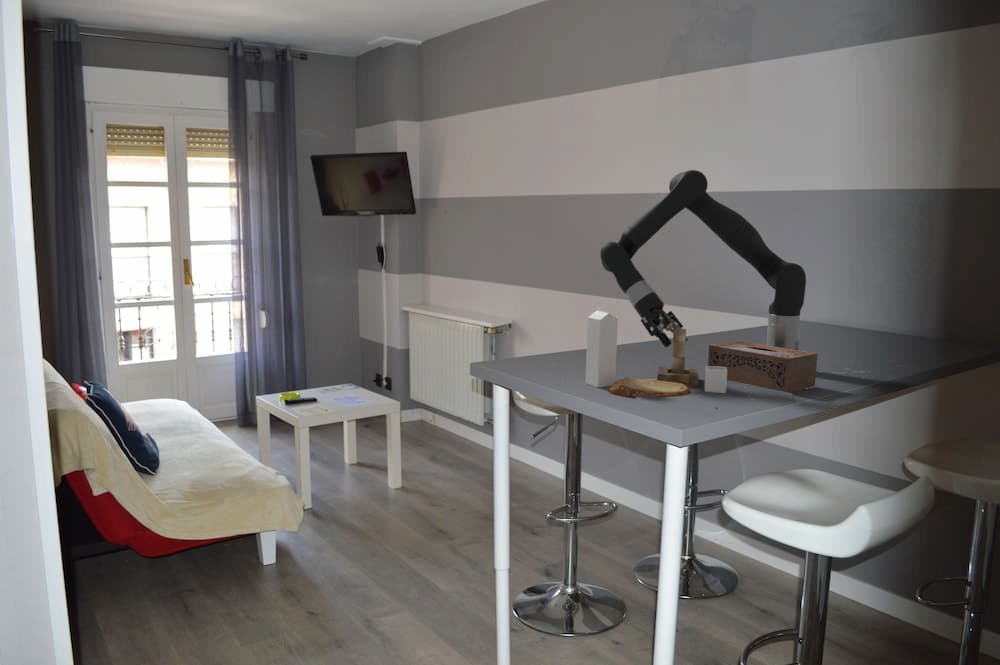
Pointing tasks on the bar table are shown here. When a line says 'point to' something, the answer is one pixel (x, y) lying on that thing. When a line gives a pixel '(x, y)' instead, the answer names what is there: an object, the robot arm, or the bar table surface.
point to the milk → (601, 348)
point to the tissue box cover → (765, 365)
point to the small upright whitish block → (715, 379)
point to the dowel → (678, 351)
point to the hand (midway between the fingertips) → (677, 343)
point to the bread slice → (647, 388)
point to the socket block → (679, 376)
